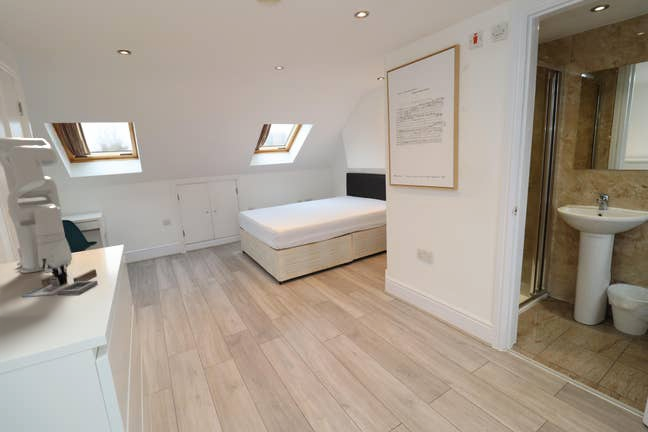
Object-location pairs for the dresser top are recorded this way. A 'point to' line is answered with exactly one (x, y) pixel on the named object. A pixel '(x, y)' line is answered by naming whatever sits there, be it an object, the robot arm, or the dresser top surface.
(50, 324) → the dresser top surface
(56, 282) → the strap clip
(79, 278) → the walled tunnel
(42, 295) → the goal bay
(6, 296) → the dresser top surface
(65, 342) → the dresser top surface
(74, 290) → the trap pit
